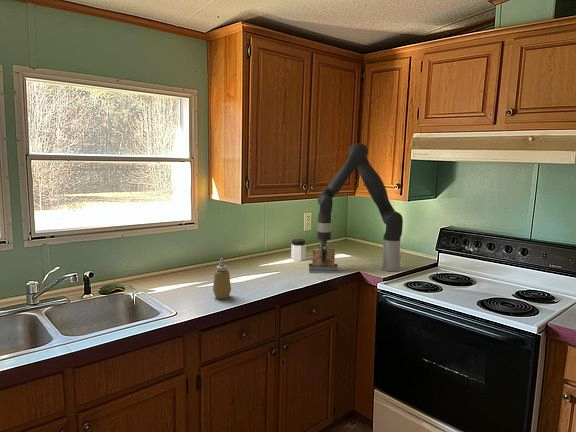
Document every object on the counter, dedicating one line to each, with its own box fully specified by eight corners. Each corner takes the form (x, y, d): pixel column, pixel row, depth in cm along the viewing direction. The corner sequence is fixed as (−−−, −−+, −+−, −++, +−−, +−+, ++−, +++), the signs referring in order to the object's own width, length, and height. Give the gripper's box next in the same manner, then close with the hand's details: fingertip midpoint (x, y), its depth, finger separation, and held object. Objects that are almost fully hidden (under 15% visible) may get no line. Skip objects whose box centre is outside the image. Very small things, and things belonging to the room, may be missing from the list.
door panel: (333, 265, 237) (334, 249, 236) (334, 266, 234) (334, 250, 233) (312, 264, 237) (312, 248, 236) (312, 266, 234) (312, 250, 233)
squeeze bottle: (232, 294, 196) (231, 256, 193) (230, 300, 188) (229, 260, 186) (214, 294, 196) (213, 256, 193) (211, 300, 188) (211, 260, 185)
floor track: (337, 268, 240) (337, 263, 240) (338, 273, 231) (338, 267, 231) (308, 268, 241) (308, 262, 240) (309, 272, 232) (309, 267, 231)
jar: (289, 257, 264) (290, 238, 262) (302, 257, 267) (302, 238, 265) (294, 261, 256) (294, 241, 254) (307, 260, 258) (307, 241, 256)
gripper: (332, 233, 226) (331, 264, 228) (330, 228, 240) (329, 258, 242) (317, 232, 226) (317, 264, 229) (316, 228, 240) (316, 257, 242)
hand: (323, 261), depth 235 cm, fingers closed on door panel, 3 cm apart
